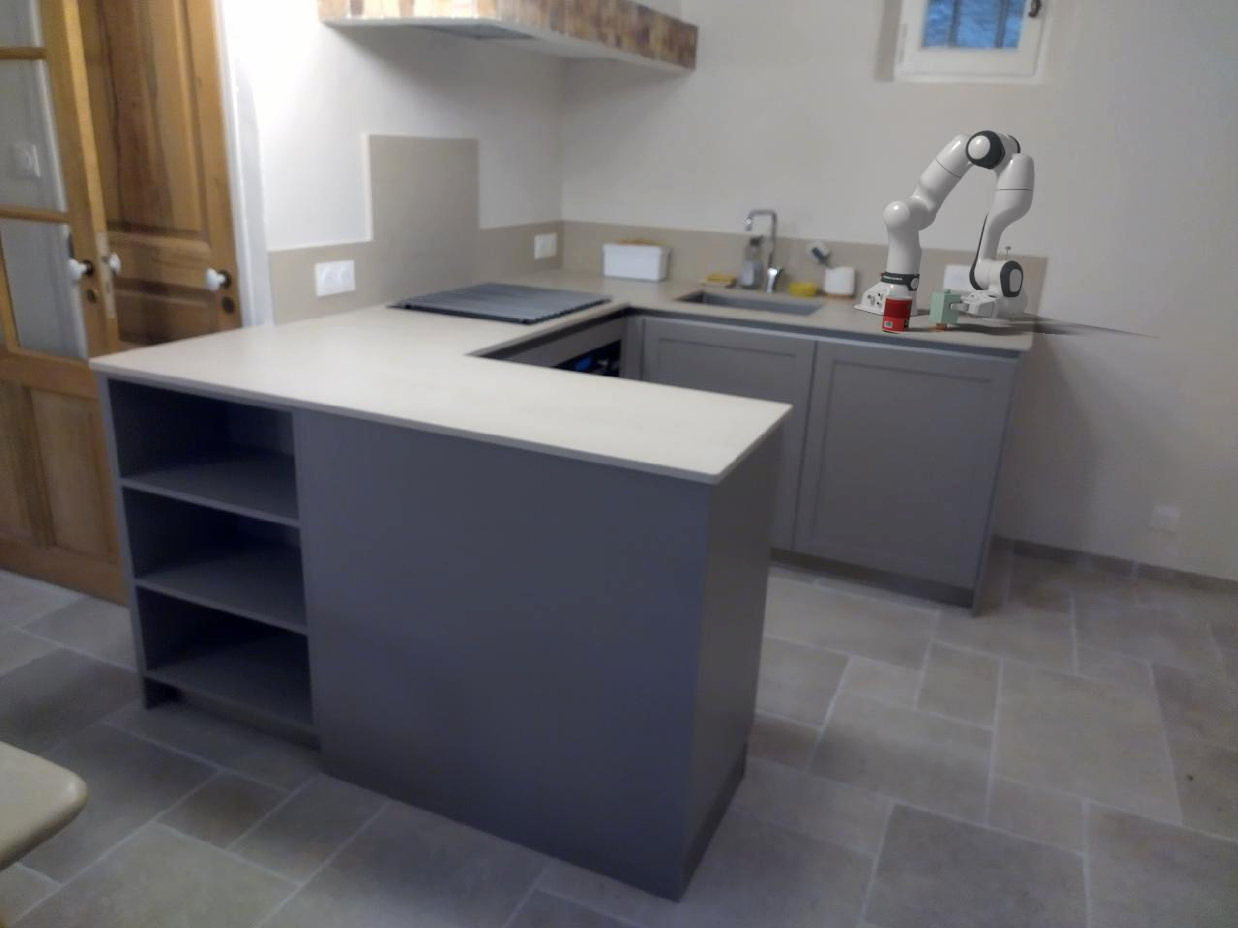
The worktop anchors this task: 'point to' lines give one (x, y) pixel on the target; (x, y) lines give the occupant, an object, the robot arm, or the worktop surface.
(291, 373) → the worktop surface
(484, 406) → the worktop surface
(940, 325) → the ball
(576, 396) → the worktop surface
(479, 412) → the worktop surface
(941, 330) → the trivet
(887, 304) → the canned food
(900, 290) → the robot arm
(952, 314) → the mint green square bottle
